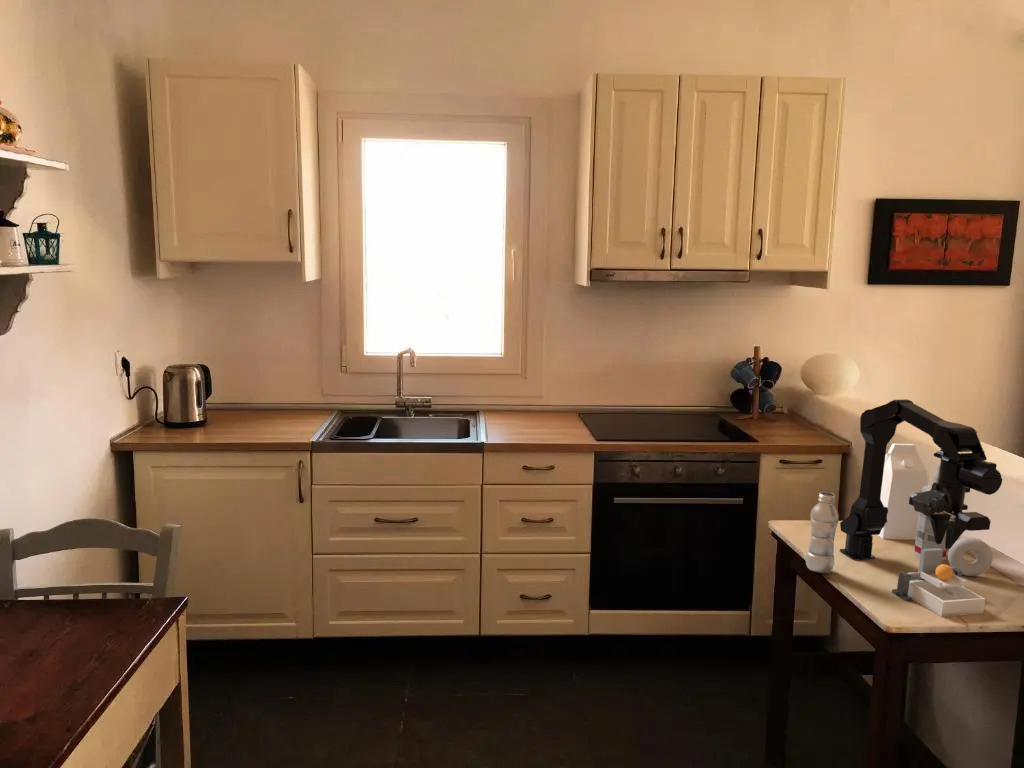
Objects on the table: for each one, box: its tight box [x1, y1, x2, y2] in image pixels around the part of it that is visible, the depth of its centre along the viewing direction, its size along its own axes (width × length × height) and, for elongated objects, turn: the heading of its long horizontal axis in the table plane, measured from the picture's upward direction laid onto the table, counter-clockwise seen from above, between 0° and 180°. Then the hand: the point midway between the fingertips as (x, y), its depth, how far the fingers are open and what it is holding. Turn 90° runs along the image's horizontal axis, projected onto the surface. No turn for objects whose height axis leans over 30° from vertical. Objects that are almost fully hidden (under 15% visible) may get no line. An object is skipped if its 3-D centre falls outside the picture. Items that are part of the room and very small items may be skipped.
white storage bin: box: [908, 580, 986, 618], centre depth 185 cm, size 11×11×4 cm
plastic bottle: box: [805, 491, 840, 574], centre depth 200 cm, size 6×7×20 cm
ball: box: [935, 563, 953, 580], centre depth 185 cm, size 4×4×4 cm
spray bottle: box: [913, 464, 951, 562], centre depth 213 cm, size 8×8×25 cm
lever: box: [907, 548, 968, 588], centre depth 189 cm, size 14×12×10 cm
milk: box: [877, 443, 929, 541], centre depth 230 cm, size 12×12×26 cm
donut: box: [947, 536, 994, 577], centre depth 202 cm, size 10×4×10 cm, turn 74°
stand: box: [891, 567, 963, 602], centre depth 190 cm, size 5×16×6 cm, turn 104°
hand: (943, 546), depth 185 cm, fingers open, 3 cm apart
